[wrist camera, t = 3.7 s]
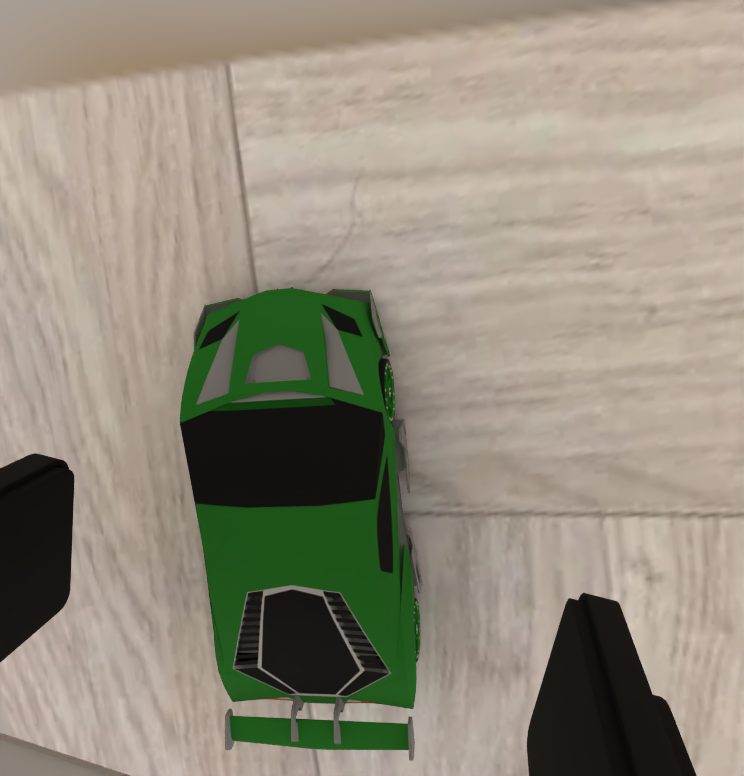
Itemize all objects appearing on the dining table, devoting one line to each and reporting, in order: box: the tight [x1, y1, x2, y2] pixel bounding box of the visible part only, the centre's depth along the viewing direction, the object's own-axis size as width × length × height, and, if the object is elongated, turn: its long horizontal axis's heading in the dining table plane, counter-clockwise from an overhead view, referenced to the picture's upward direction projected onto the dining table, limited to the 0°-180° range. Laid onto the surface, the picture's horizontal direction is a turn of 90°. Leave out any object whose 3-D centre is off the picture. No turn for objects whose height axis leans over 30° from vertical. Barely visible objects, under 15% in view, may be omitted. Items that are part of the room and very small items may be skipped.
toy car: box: [180, 287, 423, 761], centre depth 13 cm, size 10×5×2 cm, turn 6°
